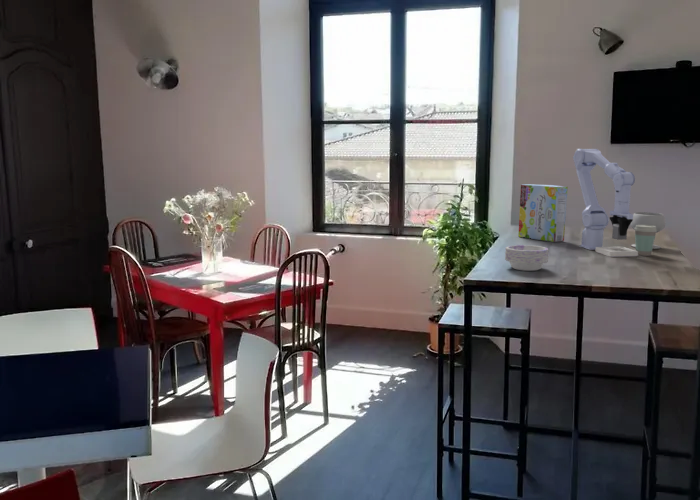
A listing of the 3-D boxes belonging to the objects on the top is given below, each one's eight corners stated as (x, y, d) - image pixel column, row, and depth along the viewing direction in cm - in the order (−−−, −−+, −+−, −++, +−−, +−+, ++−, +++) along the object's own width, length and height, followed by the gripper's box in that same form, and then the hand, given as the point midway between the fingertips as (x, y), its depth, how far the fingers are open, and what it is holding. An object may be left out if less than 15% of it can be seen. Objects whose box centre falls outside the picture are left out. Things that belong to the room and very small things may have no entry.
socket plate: (595, 251, 275) (595, 246, 274) (622, 251, 276) (622, 246, 276) (610, 256, 263) (610, 251, 262) (637, 256, 264) (638, 250, 264)
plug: (612, 238, 268) (613, 223, 267) (621, 238, 269) (622, 223, 268) (617, 239, 265) (618, 225, 264) (626, 239, 265) (627, 224, 264)
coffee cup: (657, 256, 263) (659, 227, 261) (634, 255, 265) (637, 226, 263) (651, 253, 271) (654, 224, 269) (630, 252, 273) (632, 224, 271)
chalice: (625, 244, 294) (628, 211, 292) (658, 245, 292) (661, 212, 289) (632, 249, 281) (635, 215, 278) (667, 250, 278) (670, 215, 276)
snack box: (565, 241, 302) (569, 186, 297) (553, 243, 297) (556, 186, 293) (528, 235, 319) (531, 183, 315) (516, 237, 315) (519, 183, 310)
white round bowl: (515, 263, 248) (516, 242, 247) (554, 268, 238) (555, 247, 237) (497, 269, 236) (498, 247, 235) (537, 274, 227) (538, 252, 226)
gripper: (603, 200, 271) (601, 232, 273) (622, 203, 257) (619, 237, 259) (619, 200, 272) (617, 232, 274) (639, 203, 258) (636, 237, 260)
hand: (619, 234), depth 267 cm, fingers closed on plug, 4 cm apart
